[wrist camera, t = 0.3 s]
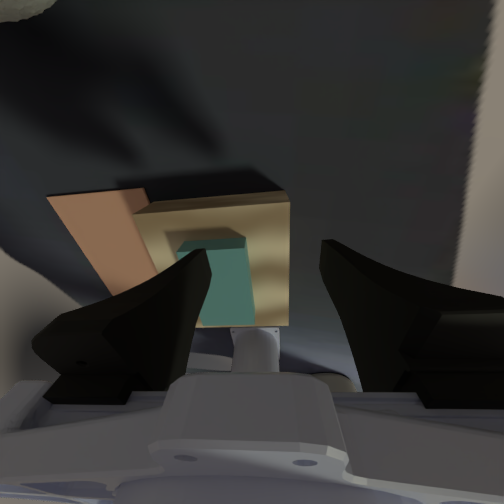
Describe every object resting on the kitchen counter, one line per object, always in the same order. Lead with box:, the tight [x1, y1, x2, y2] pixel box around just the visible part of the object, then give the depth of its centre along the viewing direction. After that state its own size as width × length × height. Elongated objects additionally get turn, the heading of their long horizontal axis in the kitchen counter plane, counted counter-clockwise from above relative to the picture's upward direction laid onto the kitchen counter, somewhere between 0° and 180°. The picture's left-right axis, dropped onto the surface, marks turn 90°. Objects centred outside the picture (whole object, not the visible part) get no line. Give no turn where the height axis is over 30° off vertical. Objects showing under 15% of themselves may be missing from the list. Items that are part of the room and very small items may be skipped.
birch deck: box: [132, 190, 290, 328], centre depth 22 cm, size 16×14×4 cm
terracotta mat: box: [47, 188, 159, 296], centre depth 24 cm, size 19×11×1 cm, turn 6°
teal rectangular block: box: [176, 237, 255, 326], centre depth 19 cm, size 10×6×2 cm, turn 6°
